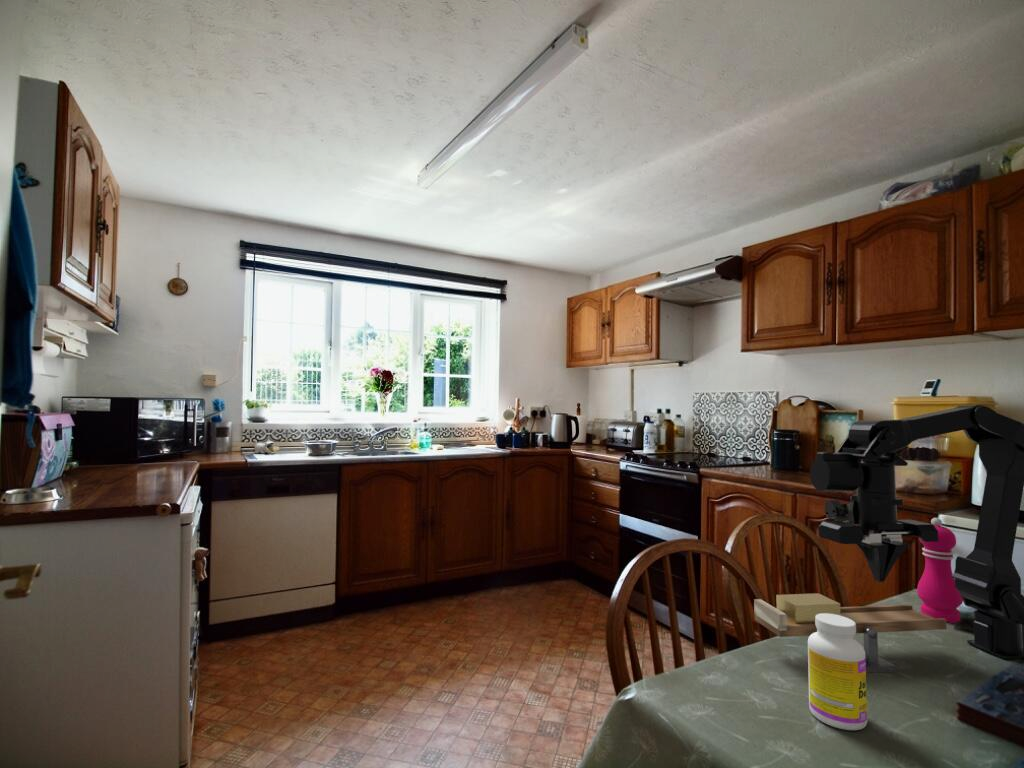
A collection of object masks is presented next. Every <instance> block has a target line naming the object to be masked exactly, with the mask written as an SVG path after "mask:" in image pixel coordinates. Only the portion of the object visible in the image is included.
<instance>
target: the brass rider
mask: <svg viewBox="0 0 1024 768" xmlns="http://www.w3.org/2000/svg"><path fill="white" fill-rule="evenodd" d="M775 595H776V597H775V598H776V601H775V602H776V609H778V610H780V611H782V612H783V613H785V614H786V617H787V622H788V623H790V624H791V625H796V624H815V616H816V615H817V614H821V613H828V614H835V615H840V607H841V603H840V602H838V601H836V600H833V599H831V598H830V597H827V596H825V595H823V594H821V593H799V594H798V593H795V594H794V593H793V594H791V593H789V594H775ZM840 616H841V615H840Z"/></svg>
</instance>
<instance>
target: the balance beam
mask: <svg viewBox="0 0 1024 768" xmlns="http://www.w3.org/2000/svg"><path fill="white" fill-rule="evenodd" d="M753 600H754V602H753V605H754V607H753V608H754V610H753V611H754V613H753V614H754V621H756V623H758V624H760V625H762V626H763V627H765V628H766V629H768V630H769V631H771V632H772V633H774V634H775V635H776V636H778V637H780V638H785V637H809V636H810V635H811V634H813V633H815V632H817V628H816V625H815V624H796V625H791V624H790V623H788V622H787V617H786V614H785V613H783V612H782V611H780V610H778V609H777V607H776V606H775V607H774V606H773V605H771V604H770V603H767V601H764V600H763V599H761V598H757V599H756V598H755V599H753ZM840 615H841V616H843V617H846V618H849V619H851V620H853V621H854V622H855V624H856V633H855V635H857V634H863V632H864V628H865V627H870V628H872V629H874V630H875V631H876V632H877V634H878V633H893V632H894V633H899V632H916V631H917V632H918V631H920V632H921V631H941V630H943V631H944V630H948V629H947V627H948V626H947V622H946V619H944V618H936V619H935V618H933V617H930V616H928V615H925V614H923V613H921V611H917V610H915V609H913V605H912V604H890V605H889V604H887V605H866V606H865V605H864V606H863V605H862V606H840Z"/></svg>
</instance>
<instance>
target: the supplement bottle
mask: <svg viewBox="0 0 1024 768" xmlns="http://www.w3.org/2000/svg"><path fill="white" fill-rule="evenodd" d="M815 625H816V628H817V632H815V633H813V634H811V635H810V636H808V639H807V663H808V664H807V666H808V667H807V668H808V669H807V670H808V673H807V674H808V677H807V679H808V707H809V710H810V712H811V714H812V715H813V716H814V717H815V718H816V719H817V720H818V721H820V722H822V723H824V724H826V725H828V726H831V727H833V728H836V729H840V730H845V731H860V730H863V729H864V728H865V727H866V726H867V724H868V696H867V673H866V662H865V650H864V645H862V643H860V642H859V641H858V640H856V639H855V635H856V634H855V633H856V624H855V622H854V621H853V620H851V619H849V618H846V617H843V616H840V615H835V614H828V613H821V614H817V615H816V616H815Z"/></svg>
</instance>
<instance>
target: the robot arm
mask: <svg viewBox="0 0 1024 768" xmlns="http://www.w3.org/2000/svg"><path fill="white" fill-rule="evenodd" d="M960 431H963V432H964V435H966V437H967V439H969V440H970V441H972V442H973V443H975V444H976V445H978V455H979V456H978V457H979V459H980V461H981V463H982V465H983V467H984V469H985V471H986V477H985V481H984V489H983V494H982V501H981V506H980V512H979V516H978V517H979V519H978V522H977V523H978V524H977V530H976V535H975V541H974V548H973V550H972V551H971V552H970V553H969V554H968V555H966V556H965V557H963V556H960V555H958V556H956V559H955V568H954V572H952V573H953V575H952V578H955V588H956V589H957V590H958V591H959V593H960V594H961V597H962V599H963V602H962V603H963V604H964V606H966V607H969V608H972V609H975V610H974V620H973V638H974V639H967V640H966V642H967V644H969V645H972V646H974V647H976V648H978V649H980V650H983V651H985V652H987V653H988V654H989V653H990V654H992V655H993V656H996V657H998V658H1001V659H1004V660H1010V659H1024V658H1023V657H1024V653H1023V648H1024V595H1023V594H1022V579H1021V578H1022V577H1021V576H1020V573H1019V572H1018V569H1017V568H1016V566H1015V564H1014V561H1013V555H1014V554H1013V553H1014V547H1015V542H1016V535H1017V530H1018V523H1019V518H1020V511H1021V505H1022V498H1023V493H1024V423H1023V422H1021V421H1018V420H1016V419H1013V418H1011V417H1008V416H1006V415H1003V414H1001V413H998V412H997V411H995V410H993V409H992V408H991V407H988V406H986V405H983V404H965V405H963V404H961V405H957V406H956V407H952V408H948V409H943V410H939V411H938V410H937V411H933V412H929V413H923V414H920V415H914V416H909V417H905V418H900V419H865V420H864V419H863V420H861V419H860V420H856V421H854V422H853V423H852V424H851V425H850V428H849V431H848V434H847V435H846V437H845V439H844V440H843V442H842V443H841V444H840V445H839V446H838V448H837V450H836V451H835V452H834V453H833V452H824V451H818V452H816V459H814V460H813V462H812V463H811V466H810V469H809V479H810V482H811V485H812V486H813V487H814V488H815V489H816V490H817V491H819V492H855V491H856V494H851V496H850V499H849V500H850V501H849V503H841V502H840V501H839V500H837V499H836V500H834V499H833V500H827V501H824V512H825V516H826V518H827V519H829V520H825V521H821V523H820V524H819V526H818V537H819V538H821V539H826V540H829V541H832V542H835V543H838V544H840V545H841V544H842V545H856V546H857V547H859V549H860V550H861V552H862V554H863V557H865V559H866V562H867V564H868V567H869V569H870V571H871V574H872V576H873V578H874V580H875V581H876V582H879V583H884V582H885V581H886V579H887V578H888V575H889V574H890V572H891V570H892V569H893V567H894V565H895V564H896V562H897V561H898V560H899V558H900V556H901V555H902V554H903V553H904V550H905V549H906V548H910V543H908V542H904V541H903V538H902V537H917V538H918V539H919V538H920V539H921V540H922V541H924V542H939V541H938V530H937V529H936V528H935V526H934V525H933V524H932V523H927V522H923V521H920V520H919V521H918V520H914V519H898V513H897V511H898V510H897V506H903V499H902V498H899V497H898V498H897V487H896V467H907V466H908V465H909V464H908V462H907V461H906V460H905V459H904V458H902V457H901V456H899V454H898V453H897V451H899V450H903V449H904V448H907V447H908V446H910V444H912V443H913V442H915V441H918V440H922V439H926V438H931V437H935V436H941V435H945V434H950V433H955V432H960ZM833 519H834V520H833Z"/></svg>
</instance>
